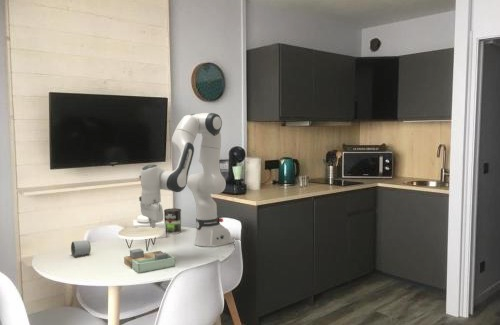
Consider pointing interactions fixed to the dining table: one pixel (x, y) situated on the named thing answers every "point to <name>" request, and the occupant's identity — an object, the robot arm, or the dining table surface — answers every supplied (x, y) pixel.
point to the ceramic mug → (80, 248)
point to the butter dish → (148, 224)
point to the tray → (152, 264)
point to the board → (146, 256)
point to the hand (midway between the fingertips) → (152, 227)
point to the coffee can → (172, 220)
